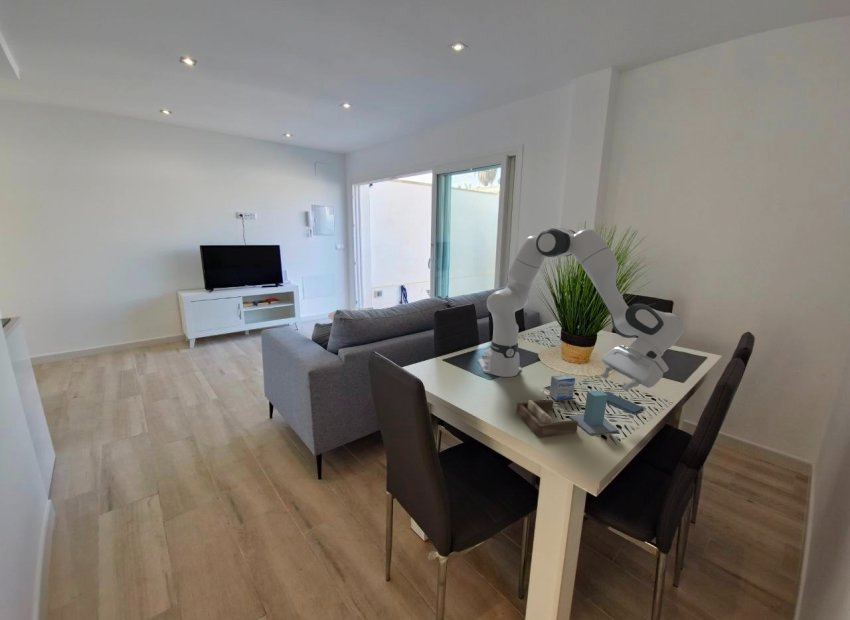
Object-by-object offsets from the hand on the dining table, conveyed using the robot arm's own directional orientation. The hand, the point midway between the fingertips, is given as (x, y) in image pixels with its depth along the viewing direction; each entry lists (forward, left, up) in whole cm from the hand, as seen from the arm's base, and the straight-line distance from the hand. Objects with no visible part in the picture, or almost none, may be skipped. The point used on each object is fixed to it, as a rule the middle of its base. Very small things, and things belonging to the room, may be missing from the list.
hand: (613, 382), depth 117 cm
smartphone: (-11, +15, -16) cm, 24 cm away
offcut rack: (-4, -21, -15) cm, 26 cm away
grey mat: (0, -5, -15) cm, 16 cm away
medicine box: (-20, -4, -15) cm, 26 cm away
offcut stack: (-4, -24, -15) cm, 29 cm away
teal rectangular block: (0, -5, -14) cm, 15 cm away
